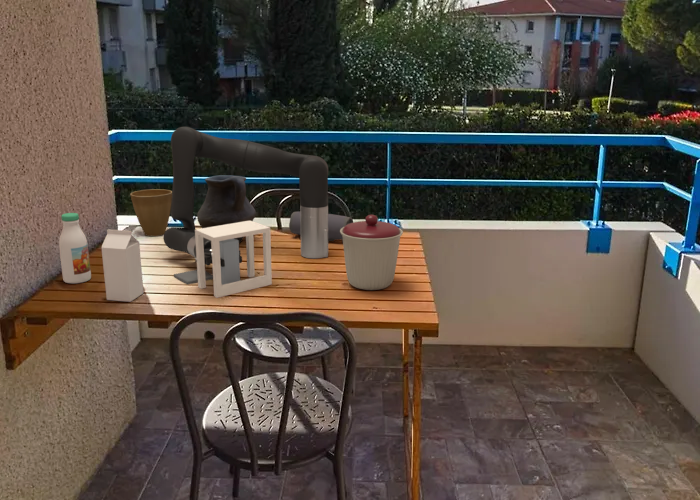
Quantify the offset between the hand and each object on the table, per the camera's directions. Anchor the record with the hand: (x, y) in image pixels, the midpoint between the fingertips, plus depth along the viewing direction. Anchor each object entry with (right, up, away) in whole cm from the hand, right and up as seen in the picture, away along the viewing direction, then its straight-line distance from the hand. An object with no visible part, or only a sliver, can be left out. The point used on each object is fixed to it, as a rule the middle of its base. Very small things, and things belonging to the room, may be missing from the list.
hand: (232, 261), depth 183 cm
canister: (+40, -7, +3) cm, 41 cm away
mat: (-13, -5, +8) cm, 16 cm away
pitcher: (-10, +6, +47) cm, 49 cm away
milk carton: (-28, -10, -9) cm, 31 cm away
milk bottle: (-47, -6, +5) cm, 47 cm away
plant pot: (-40, +9, +57) cm, 70 cm away
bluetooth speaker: (+24, +7, +51) cm, 57 cm away
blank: (-2, -6, +4) cm, 7 cm away
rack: (+1, -7, +1) cm, 7 cm away
